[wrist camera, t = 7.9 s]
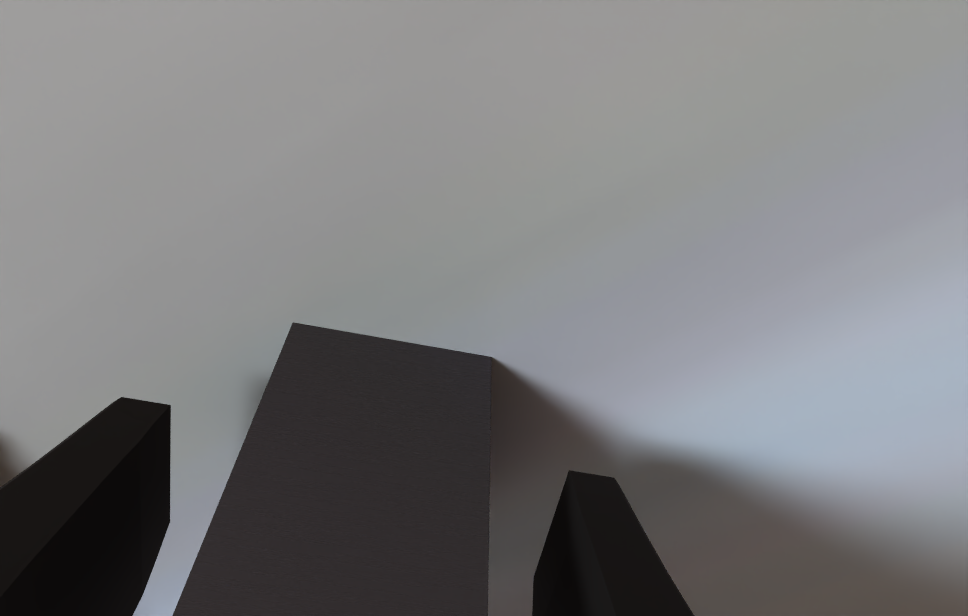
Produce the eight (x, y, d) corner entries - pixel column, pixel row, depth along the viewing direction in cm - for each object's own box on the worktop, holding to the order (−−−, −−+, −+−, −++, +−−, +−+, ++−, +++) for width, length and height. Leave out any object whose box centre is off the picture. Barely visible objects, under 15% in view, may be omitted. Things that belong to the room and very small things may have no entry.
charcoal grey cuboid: (456, 501, 13) (419, 1085, 7) (278, 472, 13) (82, 1053, 7) (491, 356, 12) (482, 934, 6) (292, 322, 11) (62, 885, 5)
